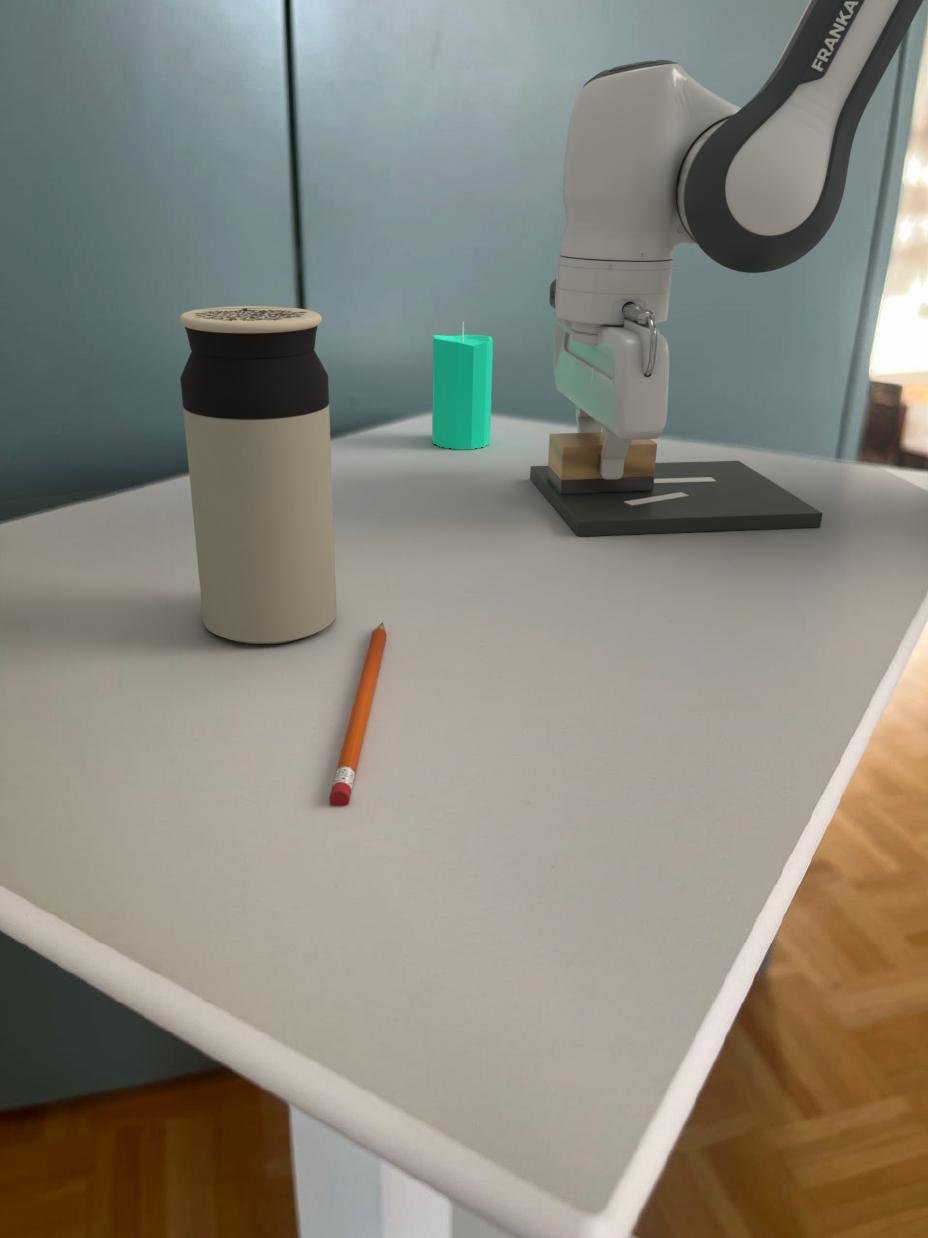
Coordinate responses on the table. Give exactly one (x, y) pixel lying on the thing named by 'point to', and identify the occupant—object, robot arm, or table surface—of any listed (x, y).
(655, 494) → the slate board
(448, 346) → the candle
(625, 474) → the eraser
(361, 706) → the pencil
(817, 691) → the table surface
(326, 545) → the travel mug
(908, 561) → the table surface
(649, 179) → the robot arm
